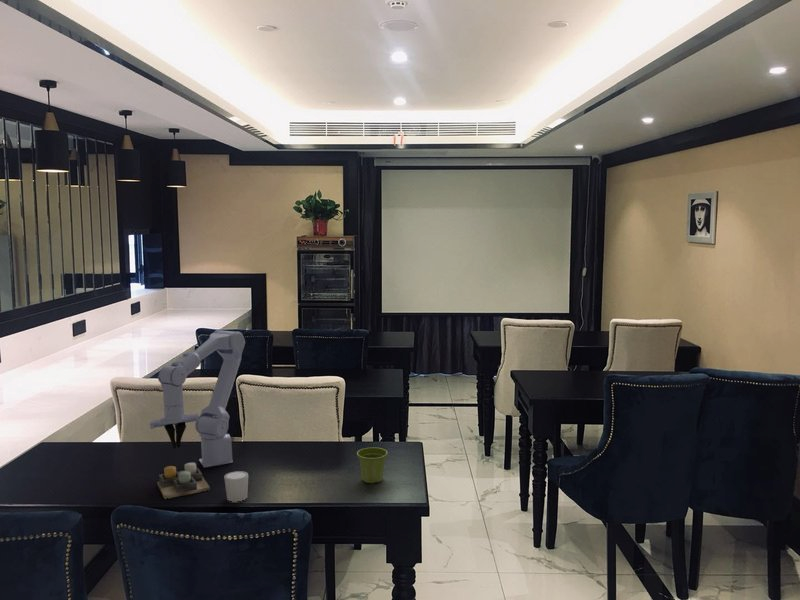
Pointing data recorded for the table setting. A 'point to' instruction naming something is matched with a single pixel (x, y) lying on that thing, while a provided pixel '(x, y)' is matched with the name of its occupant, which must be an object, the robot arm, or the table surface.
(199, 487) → the button panel board
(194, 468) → the white small cylinder
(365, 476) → the plant pot
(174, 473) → the amber button
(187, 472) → the sage button
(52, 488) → the table surface
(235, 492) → the white cup
